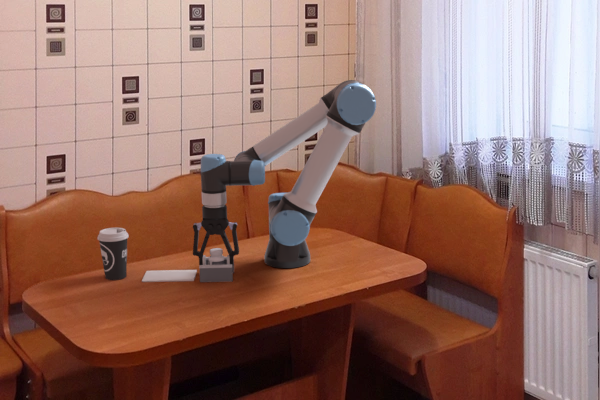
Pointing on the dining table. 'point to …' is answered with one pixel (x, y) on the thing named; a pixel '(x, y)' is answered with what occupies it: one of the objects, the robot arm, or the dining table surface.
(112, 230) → the coffee cup
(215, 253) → the pill bottle
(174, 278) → the mat
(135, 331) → the dining table surface
